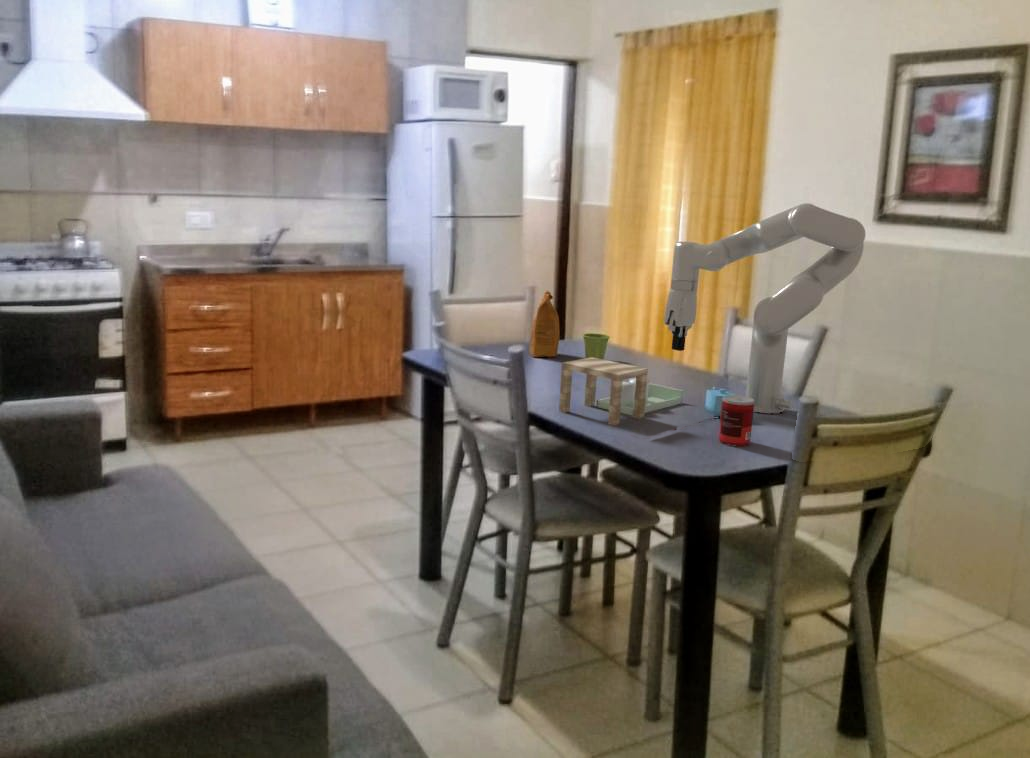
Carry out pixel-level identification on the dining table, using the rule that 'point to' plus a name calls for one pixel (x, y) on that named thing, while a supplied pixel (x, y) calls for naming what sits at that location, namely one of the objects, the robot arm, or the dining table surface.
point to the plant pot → (595, 345)
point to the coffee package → (545, 329)
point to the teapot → (715, 400)
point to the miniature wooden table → (616, 374)
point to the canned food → (736, 420)
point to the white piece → (646, 389)
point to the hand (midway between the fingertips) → (677, 349)
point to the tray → (651, 399)
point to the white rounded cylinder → (627, 394)
